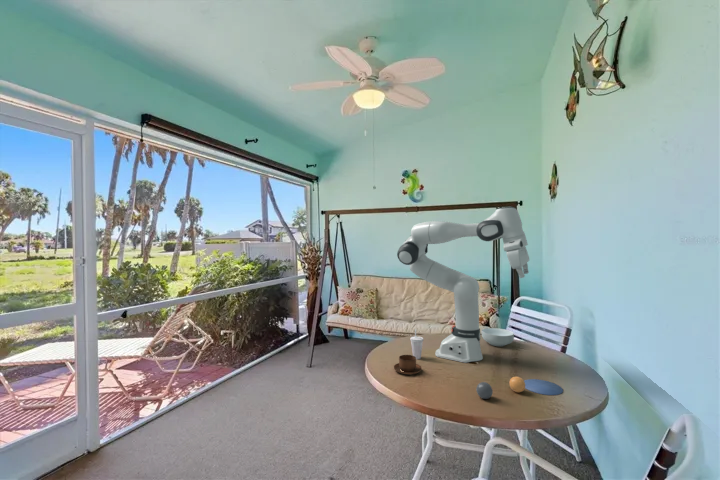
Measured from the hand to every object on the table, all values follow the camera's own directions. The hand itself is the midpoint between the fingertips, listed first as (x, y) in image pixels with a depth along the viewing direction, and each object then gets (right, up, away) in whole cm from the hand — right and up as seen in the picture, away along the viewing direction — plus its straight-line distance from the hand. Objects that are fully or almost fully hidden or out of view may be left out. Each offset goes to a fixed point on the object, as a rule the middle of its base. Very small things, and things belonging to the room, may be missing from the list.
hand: (524, 275), depth 141 cm
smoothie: (-41, -43, +23) cm, 64 cm away
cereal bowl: (+7, -43, +44) cm, 62 cm away
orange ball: (-10, -39, -15) cm, 43 cm away
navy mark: (+2, -42, -11) cm, 43 cm away
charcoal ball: (-24, -39, -19) cm, 50 cm away
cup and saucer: (-48, -43, +7) cm, 65 cm away
